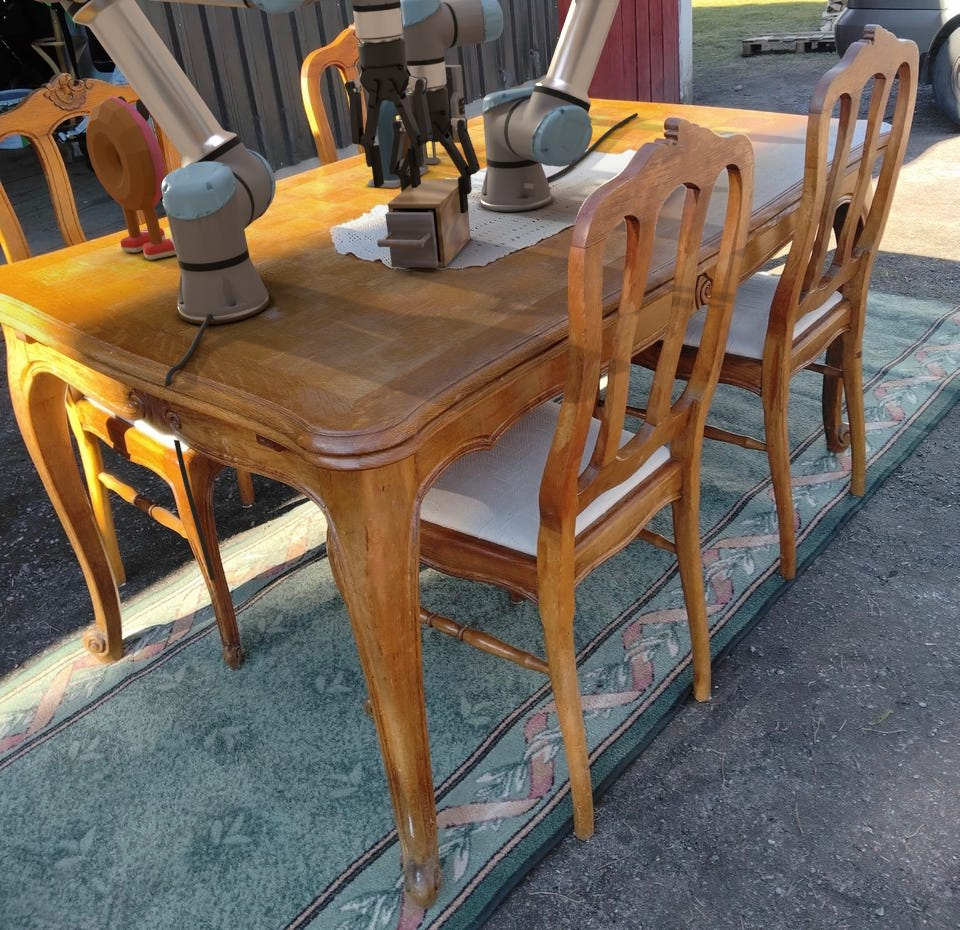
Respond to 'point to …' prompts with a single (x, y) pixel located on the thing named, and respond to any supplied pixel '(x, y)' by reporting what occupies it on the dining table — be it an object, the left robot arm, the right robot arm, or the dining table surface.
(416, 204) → the cabinet
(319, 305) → the dining table surface
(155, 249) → the toy
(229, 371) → the dining table surface
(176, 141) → the left robot arm
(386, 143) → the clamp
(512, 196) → the right robot arm
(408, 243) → the drawer
